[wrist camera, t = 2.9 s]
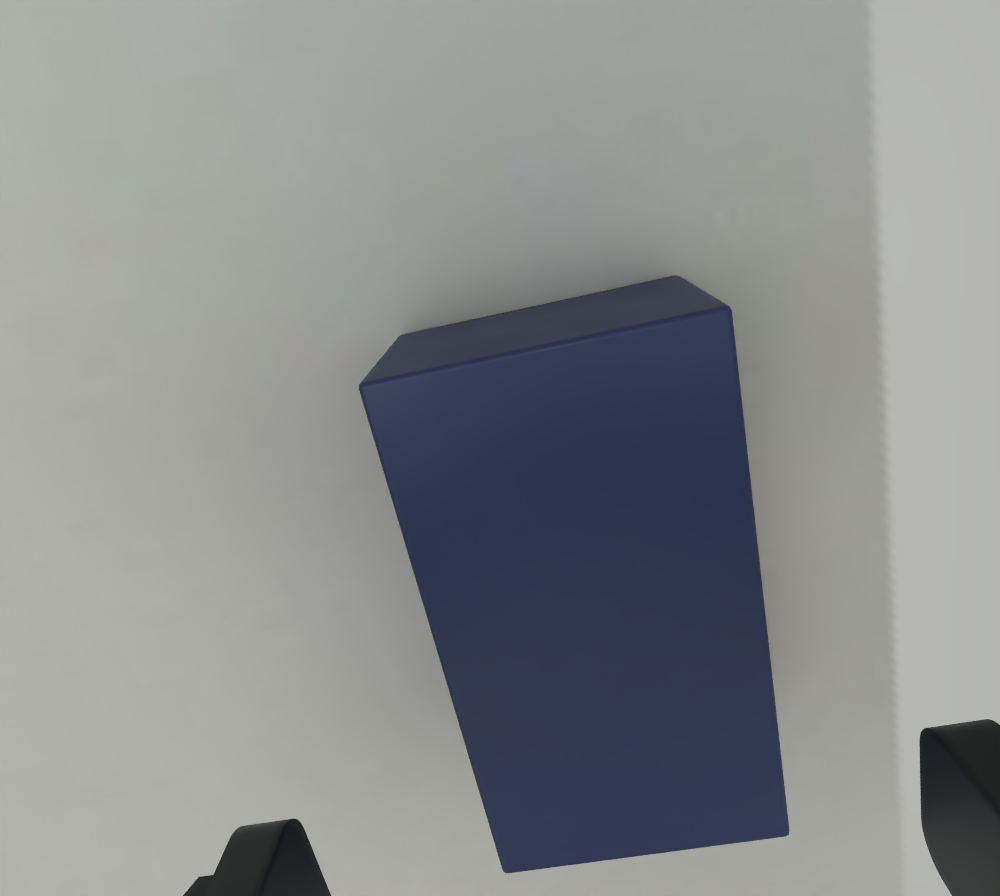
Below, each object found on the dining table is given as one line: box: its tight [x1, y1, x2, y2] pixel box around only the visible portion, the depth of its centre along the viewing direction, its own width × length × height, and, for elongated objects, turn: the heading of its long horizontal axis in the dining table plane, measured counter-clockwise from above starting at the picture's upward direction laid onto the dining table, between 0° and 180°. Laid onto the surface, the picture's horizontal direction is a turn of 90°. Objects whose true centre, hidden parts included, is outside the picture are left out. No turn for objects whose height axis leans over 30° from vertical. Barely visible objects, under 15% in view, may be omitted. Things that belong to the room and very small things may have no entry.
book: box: [359, 276, 789, 873], centre depth 15 cm, size 6×11×4 cm, turn 12°
